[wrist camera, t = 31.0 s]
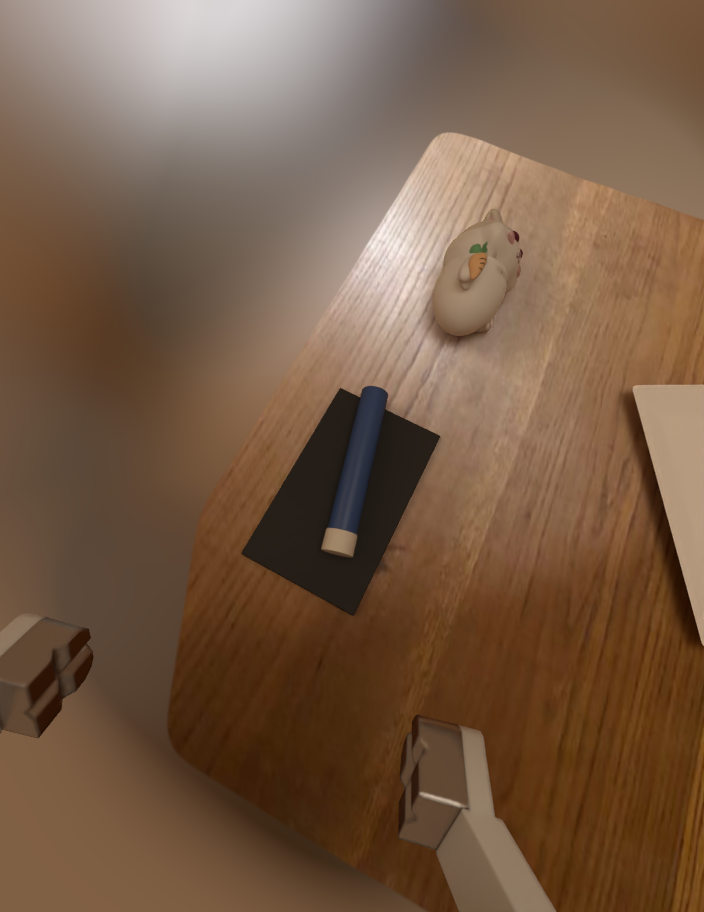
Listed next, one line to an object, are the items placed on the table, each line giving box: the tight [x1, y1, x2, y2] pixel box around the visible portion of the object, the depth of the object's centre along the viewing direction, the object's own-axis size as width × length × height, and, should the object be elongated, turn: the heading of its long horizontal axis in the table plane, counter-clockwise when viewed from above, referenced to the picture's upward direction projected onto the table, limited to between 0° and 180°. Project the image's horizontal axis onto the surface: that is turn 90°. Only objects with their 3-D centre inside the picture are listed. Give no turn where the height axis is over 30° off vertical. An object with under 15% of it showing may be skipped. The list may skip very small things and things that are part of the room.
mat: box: [242, 388, 440, 615], centre depth 41 cm, size 20×12×1 cm, turn 152°
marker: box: [321, 386, 388, 557], centre depth 41 cm, size 3×3×17 cm
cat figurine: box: [432, 209, 523, 336], centre depth 46 cm, size 10×8×15 cm
